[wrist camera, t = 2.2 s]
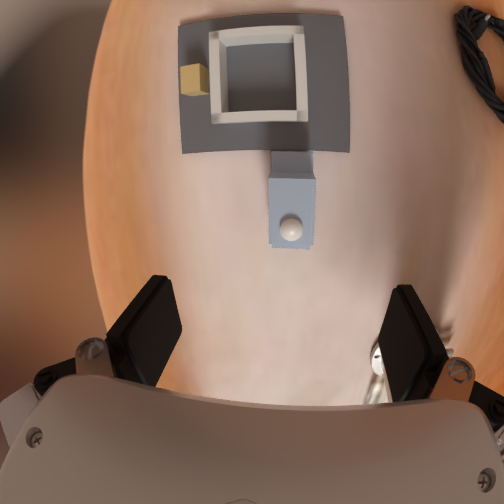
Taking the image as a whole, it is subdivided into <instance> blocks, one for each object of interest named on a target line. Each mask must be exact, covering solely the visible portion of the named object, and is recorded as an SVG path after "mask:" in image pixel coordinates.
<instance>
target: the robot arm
mask: <svg viewBox="0 0 504 504" xmlns="http://www.w3.org/2000/svg"><path fill="white" fill-rule="evenodd" d="M181 332H182V325H181V321H180V317H179V313H178V309H177V305H176V300H175V296H174V291H173V287H172V282H171V280H170V279H168V278H167V276H162V275H153V276H152V277H151V278H150V279H149V281H148V282H147V283H146V284H145V285H144V287H143V288H142V289H141V290H140V292H139V293H138V294H137V295H136V297H135V298H134V299H133V300H132V302H131V303H130V304H129V305H128V307H127V308H126V309H125V310H124V312H123V313H122V314H121V316H120V317H119V318H118V319H117V321H116V322H115V323H114V325H113V326H112V327H111V329H110V330H109V331H108V333H107V334H106V335H107V338H106V339H105V340H103V339H101V338H97V337H93V338H89V339H87V340H84V341H83V342H82V343H80V344H79V346H78V347H77V349H76V351H75V357H74V358H72V359H69V360H66V361H63V362H60V363H58V364H55V365H52V366H49V367H46V368H44V369H42V370H40V371H39V372H38V373H37V375H36V376H35V378H34V384H33V385H32V384H31V383H29V384H27V385H26V386H24V387H23V388H21V389H20V390H18V391H17V392H15V393H13V394H12V395H11V396H9V397H8V398H6V399H5V400H3V401H2V402H1V404H0V421H1V424H2V427H3V430H4V433H5V436H6V439H7V441H8V444H9V447H10V450H9V452H8V454H7V456H6V459H5V461H4V463H3V465H2V468H1V470H0V504H504V397H503V396H502V395H500V394H498V393H496V392H494V391H493V390H491V389H489V388H487V387H485V386H484V385H482V384H480V383H478V382H477V381H475V370H474V368H473V366H472V365H471V364H470V362H469V361H467V360H465V359H463V358H460V357H452V355H453V353H454V351H453V349H452V348H450V349H445V347H444V345H443V343H442V341H441V339H440V334H439V332H438V330H437V329H436V327H435V326H434V325H433V323H432V321H431V319H430V317H429V315H428V313H427V312H426V310H425V308H424V306H423V304H422V303H421V301H420V299H419V297H418V296H417V294H416V292H415V290H414V289H413V287H412V286H411V285H398V286H397V287H396V288H394V289H393V291H392V294H391V298H390V301H389V305H388V308H387V311H386V315H385V318H384V321H383V324H382V327H381V330H380V333H379V337H378V343H377V344H376V345H375V347H374V348H373V350H372V353H371V357H370V362H371V367H372V369H373V371H374V372H375V373H376V374H377V375H379V376H381V377H383V378H384V382H385V387H386V391H387V396H388V401H389V403H381V404H367V405H350V406H290V405H271V404H259V403H248V402H239V401H230V400H223V399H216V398H209V397H203V396H197V395H191V394H186V393H181V392H176V391H171V390H166V389H162V388H157V387H155V386H156V384H157V382H158V380H159V378H160V376H161V374H162V372H163V370H164V368H165V366H166V364H167V362H168V360H169V358H170V355H171V353H172V351H173V349H174V347H175V345H176V343H177V341H178V339H179V337H180V335H181ZM449 356H450V357H449Z"/></svg>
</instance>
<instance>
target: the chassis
mask: <svg viewBox="0 0 504 504" xmlns="http://www.w3.org/2000/svg"><path fill="white" fill-rule="evenodd" d="M178 78H179V106H180V125H181V141H182V154H186V153H198V152H213V151H233V150H314V151H334V152H348V153H349V151H350V101H349V76H348V60H347V48H346V37H345V28H344V20H343V16H335V15H324V14H306V13H272V14H254V15H242V16H233V17H225V18H218V19H212V20H206V21H200V22H195V23H190V24H186V25H181V26H178Z"/></svg>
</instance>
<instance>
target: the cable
mask: <svg viewBox="0 0 504 504" xmlns="http://www.w3.org/2000/svg"><path fill="white" fill-rule="evenodd" d="M454 17H455V19H456V20H457V21H458V23H457V27H458V28H457V36H458V39H459V40H460V42H461V51H462V61H463V65H464V68H465V70H466V72H467V74H468V76H469V77H470V79H471V80H472V82H473V83H474V84H475V86H476V88H477V90H478V92H479V93H480V95H481V96H482V97H483V98H484V100H485V101H486V103H487V104H488V106H489V107H490V108H491V109H492V110H493V111H494V112H495V113H496V115H497V116H498V118H499V119H500V120H501V121H502V122H503V123H504V103H503V102H502V101H501V100H500V99H499V97H498V96H497V95H496V94H495V85H494V81H493V78H492V74H491V71H490V68H489V64H488V61H487V59H486V58H485V56H484V53H483V52H481V51H480V49H479V48H478V46H477V42H476V41H477V40H478V39H479V38H480V37H481V36H482V34H483V32H484V31H485V30H486V28H487V27H488V28H490V29H493V30H494V31H495V32H496V33H497V34H498V35H499V36H500V37H501V38H502V39H503V40H504V20H503V19H500V18H495V17H494V16H492V15H490V14H487V13H483V12H482V11H480V10H476V9H473V8H471V7H469V6H464V8H463V9H462V10H460V11H459V13H458V14H455V15H454ZM473 22H475V23H477V24H476V25H475V26H474V27H473V28H472V29H471V30H470V29H469V24H471V23H473Z"/></svg>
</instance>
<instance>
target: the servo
mask: <svg viewBox="0 0 504 504" xmlns="http://www.w3.org/2000/svg"><path fill="white" fill-rule="evenodd" d="M315 193H316V178H315V176H314V174H313V152H301V151H271V174H270V176H269V177H268V200H269V244H272V248H294V249H310V245H313V236H314V217H315Z"/></svg>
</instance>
